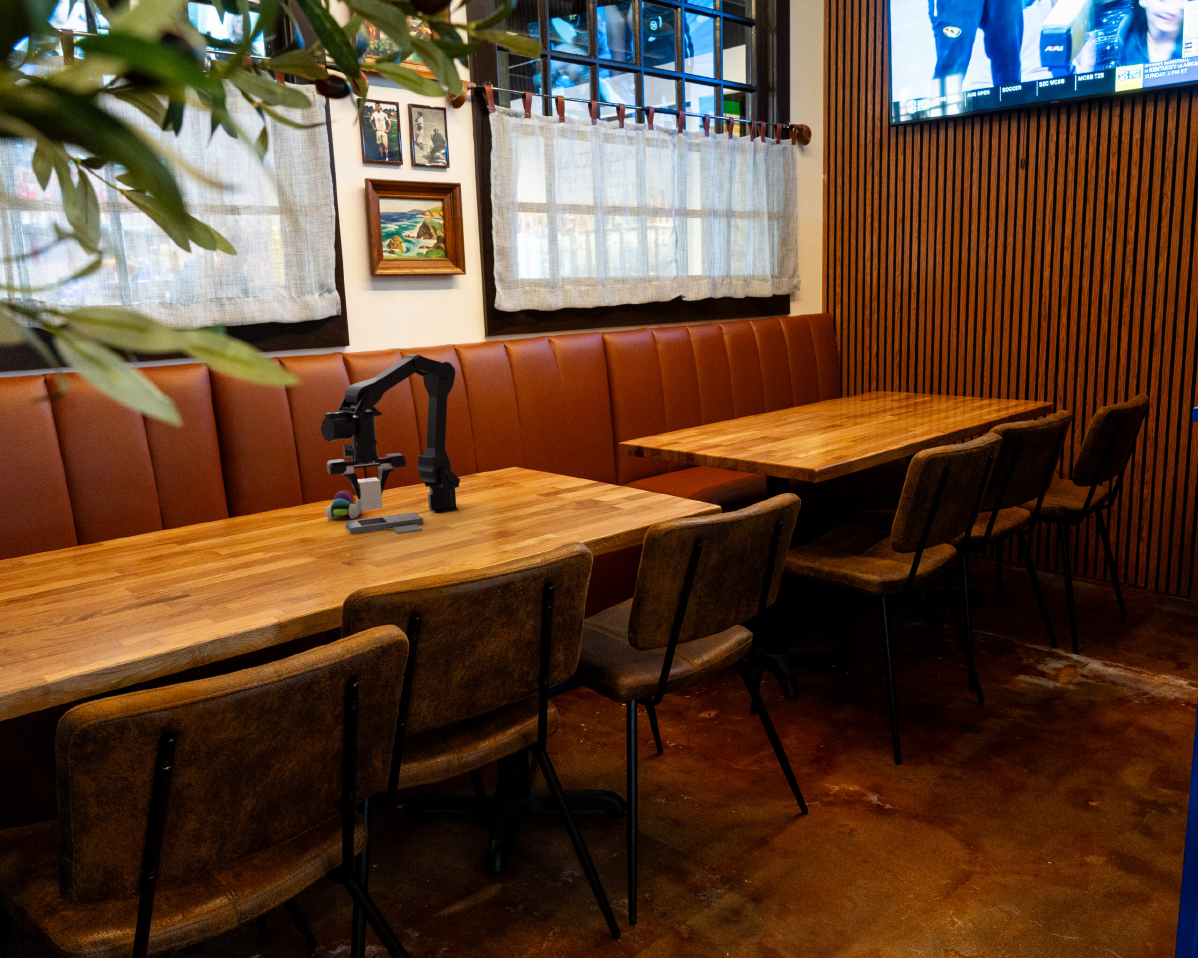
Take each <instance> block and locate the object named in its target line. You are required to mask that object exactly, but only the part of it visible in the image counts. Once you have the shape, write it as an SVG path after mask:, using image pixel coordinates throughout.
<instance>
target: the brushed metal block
mask: <svg viewBox="0 0 1198 958" xmlns="http://www.w3.org/2000/svg"><path fill="white" fill-rule="evenodd" d="M357 480H358V486H359V492H360V499H358V498H357V500H358V506H359V508H360V509H361V510H362V511H363V510H364V511H367V510H368V511H370V510H377V509H383V497H382V496H381V485H380V480H379V477H378V478H377V477H375V476H374V477H366V478H359V479H358V478H357ZM364 511H363V512H364Z"/></svg>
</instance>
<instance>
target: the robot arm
mask: <svg viewBox="0 0 1198 958" xmlns="http://www.w3.org/2000/svg"><path fill="white" fill-rule="evenodd" d="M413 374H416V375H418V376H421V377H422V378H423V385H424V388H425V390H426V393H427V394H428V401H427V402H428V403H427V405H428V407H427V430H426V432H427V433H426V448H425V449H426V450H425V452H424V453H423V455H420V454H419V455H418V457H417V462H418V464H417V468H416V471H417V472H418V474H419V477H420V479H421V480H422V481H423V484H424V486H425V488H426V487H427V488H428V487H429V492H428V493H427V498H428V508H429V509H430V510H431V511H432V512H433V513H436V514H437V513H443V512H444V513H445V512H449V511H450V512H451V511H458V510H459V507H457V499H456V498H457V497H456V488H459V487H460V481H461V479H460V478H459V476H457V474H455V473H454V472H453V471H452V465H451V459H450V458H449V455H448V453H447V449H446V448H447V447H446V441H447V440H446V439H447V421H448V419H447V416H448V415H447V414H448V396H449V394H450V392H451V390H452V388H454V386H455V385H454V383H455V379H456V378H455V377H456V369H455V367H454V366H453V363H451V362H449V361H438V360H434V359H432V358H428V357H425V356H422V355H421V354H408V355H405V356H404V357H403V359H401V360H400V361H398V362H396V363H394V364H392V365H391V366H390V367H388V368H387V369H385V370H383V371H381V372H380V373H379V374H377V375H376V376H374V377H372V378H369V379H365V380H363V381H359V382H356V383H353V384H351V385H348V387H346V389H345V392H344V397H343V399H342V401H341V403H340V405H339V407H338V409H337V411H335V412H326V413H324V419H323V420H322V422H321V426H320V432H321V435H322V437H323V439H324V440H326V442H334V441H340V440H346V439H351V438H352V444H351V443H345V444H343V445H342V452H343V457H344V458H345V459H346V458H351V461H345V459H343V458H339V459H329V460H328V461H327V462H326V472H327V473H328V474H329V475H342V476H344V477H347V479H348V480H349V482H350V484H351V486H352V489H353V491H354V493H355V497H356V499H357V500H358V499H360V492H359V486H358V480H357V479H358V476H357V474H358V473H357V472H355V469H361V468H373V467H377V473H378V479H379V480H380V485H381V496H382V495H383V492H384V489H385V485H386V483H387V480H388V478H389V476H390V474H391V472H394V471H395V470H394V468H403V467H407V459H406V456H405V455H403V454H401V453H400V452H394V453H386V454H385V457H379V456H378V455H379V454H378V445H377V443H378V442H377V433H376V422H375V417H380V416H382V415H383V413H382V412H381V411H380V410H378V409H377V408H376V405H377V404H378V403H379V402H380V401H381V400H382V398H383V396H384V394H385V393H386V392H388V391H389V390H390V389H392V388H394V387H395V386H396V385H398V384H400V383H401V382H403V381H405V380H406V379H408V378H409V377H411V376H413Z"/></svg>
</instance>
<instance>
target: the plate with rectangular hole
mask: <svg viewBox="0 0 1198 958" xmlns="http://www.w3.org/2000/svg"><path fill="white" fill-rule="evenodd" d="M344 524H345V529H347V531H348V532H349V533H350V534H351V535H352V534H353V535H355V534H359V533H360V534H361V533H367V532H374V531H381V530H382V531H383V530H390V529H392V527H397V526H405V525H412V524H417V525H418V526H419V525H424V518H423V517H422V516H421V515H419V514H418V513H417V512H408V513H400V514H392V515H386V516H378V517H370V518H362V519H352V520H348V521H345V523H344Z"/></svg>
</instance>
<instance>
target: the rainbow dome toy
mask: <svg viewBox="0 0 1198 958" xmlns="http://www.w3.org/2000/svg"><path fill="white" fill-rule="evenodd" d="M364 511H365V510H363V511H362V510H361V509H360V508H359V506H358V499H357V497H356V496H354V494H353V493H352V492H351V490H348V489H343V490H340V491H338V492H337V493H336V494H335V495H334V499H333V501H332V503H331V504H328V506H327V507H326V508H325V516H326V517H327V518H328V519H330V520H332V521H333V520H335V519H336V517H337V516H338V517H339V516H346V515H348V516H349V517H350V519H351V520H355V519H356V518H357V517H358V516H360V515H362V514H363V512H364Z"/></svg>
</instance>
